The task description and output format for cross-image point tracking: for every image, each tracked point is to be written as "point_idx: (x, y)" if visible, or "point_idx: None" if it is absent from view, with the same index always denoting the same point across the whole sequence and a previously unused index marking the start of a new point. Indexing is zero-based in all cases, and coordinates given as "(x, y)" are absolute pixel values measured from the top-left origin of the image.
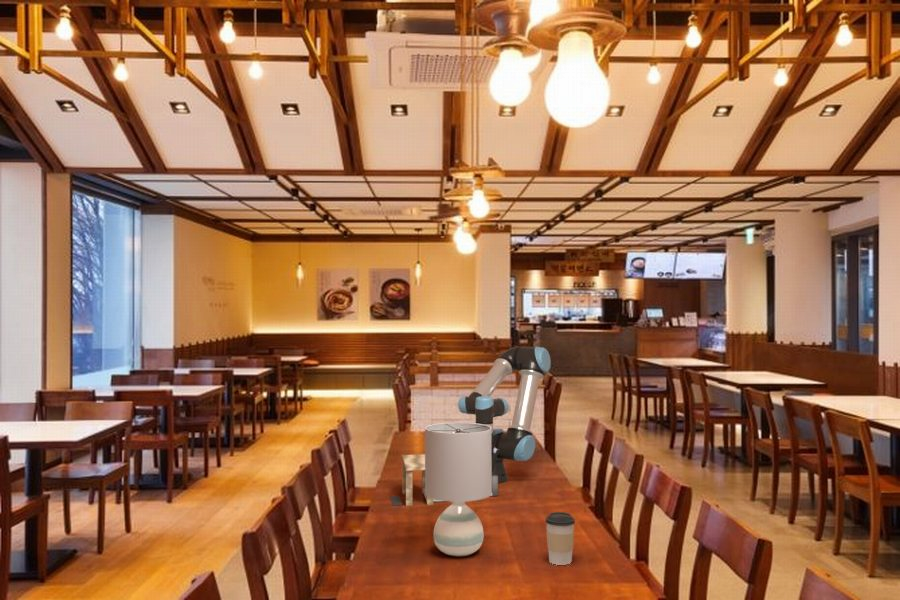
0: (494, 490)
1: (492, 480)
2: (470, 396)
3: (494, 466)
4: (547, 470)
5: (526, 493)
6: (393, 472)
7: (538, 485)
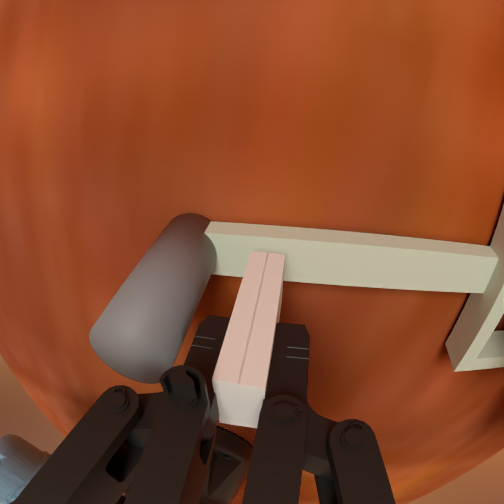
0: (178, 236)
1: (160, 305)
2: None
3: (61, 443)
4: (58, 423)
5: (28, 245)
6: (438, 484)
7: (26, 337)
